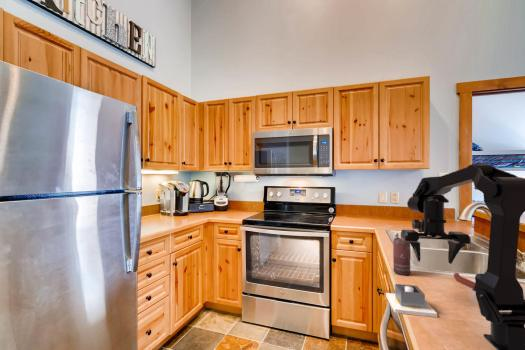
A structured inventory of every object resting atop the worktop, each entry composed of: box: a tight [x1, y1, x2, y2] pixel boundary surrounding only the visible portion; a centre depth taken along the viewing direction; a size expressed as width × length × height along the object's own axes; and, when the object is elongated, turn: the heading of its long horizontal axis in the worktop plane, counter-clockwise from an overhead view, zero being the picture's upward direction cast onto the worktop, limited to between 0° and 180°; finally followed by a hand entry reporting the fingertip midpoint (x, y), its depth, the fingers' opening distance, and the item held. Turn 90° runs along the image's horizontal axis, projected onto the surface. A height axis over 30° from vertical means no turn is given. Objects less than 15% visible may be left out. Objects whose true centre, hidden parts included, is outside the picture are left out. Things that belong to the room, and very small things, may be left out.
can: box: [392, 237, 411, 277], centre depth 106 cm, size 6×6×14 cm
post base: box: [385, 286, 438, 318], centre depth 79 cm, size 11×11×6 cm
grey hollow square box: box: [394, 283, 426, 308], centre depth 79 cm, size 6×6×4 cm
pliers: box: [453, 272, 476, 292], centre depth 91 cm, size 12×20×3 cm, turn 157°
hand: (434, 262), depth 85 cm, fingers open, 9 cm apart
